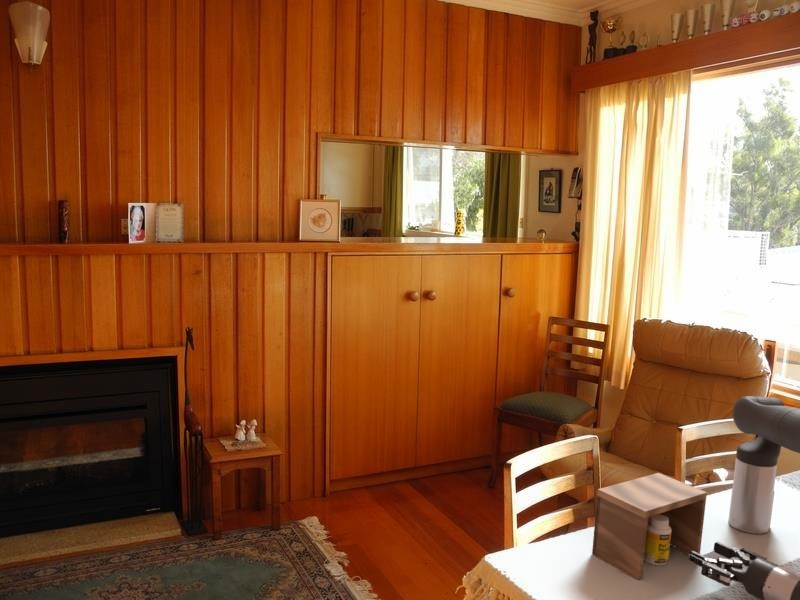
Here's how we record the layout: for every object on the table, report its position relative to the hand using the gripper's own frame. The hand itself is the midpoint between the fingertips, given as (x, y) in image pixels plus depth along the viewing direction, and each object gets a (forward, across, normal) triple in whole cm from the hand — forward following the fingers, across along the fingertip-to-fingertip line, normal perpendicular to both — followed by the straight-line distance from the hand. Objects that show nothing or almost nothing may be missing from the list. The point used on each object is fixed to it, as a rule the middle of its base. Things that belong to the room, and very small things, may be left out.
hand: (702, 550), depth 160 cm
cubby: (+14, 0, +7) cm, 16 cm away
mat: (+2, -14, +7) cm, 16 cm away
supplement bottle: (+11, 0, +8) cm, 14 cm away
